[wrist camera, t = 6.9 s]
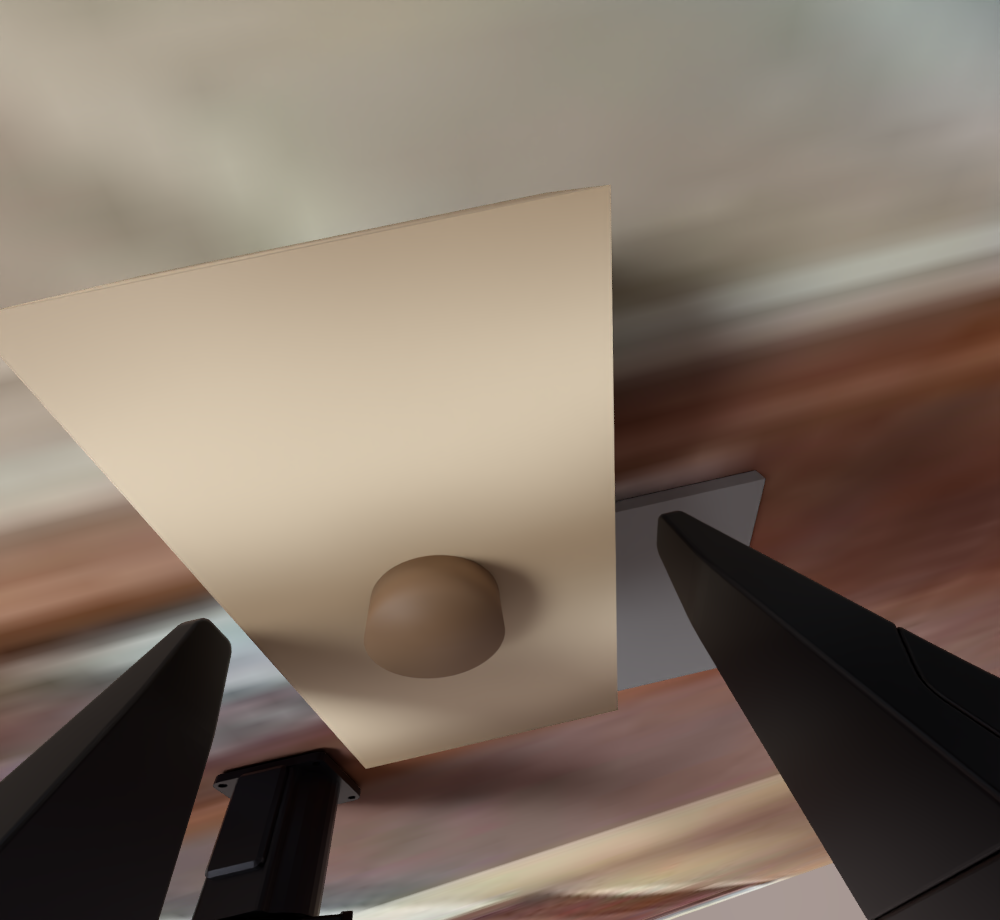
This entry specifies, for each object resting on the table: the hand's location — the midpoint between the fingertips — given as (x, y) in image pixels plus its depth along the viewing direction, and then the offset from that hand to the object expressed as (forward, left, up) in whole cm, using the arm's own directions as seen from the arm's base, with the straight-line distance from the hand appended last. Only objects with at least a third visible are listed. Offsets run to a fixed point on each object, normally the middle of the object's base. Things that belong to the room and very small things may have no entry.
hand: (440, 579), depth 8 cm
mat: (-12, -6, -7) cm, 15 cm away
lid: (0, 0, -3) cm, 3 cm away
